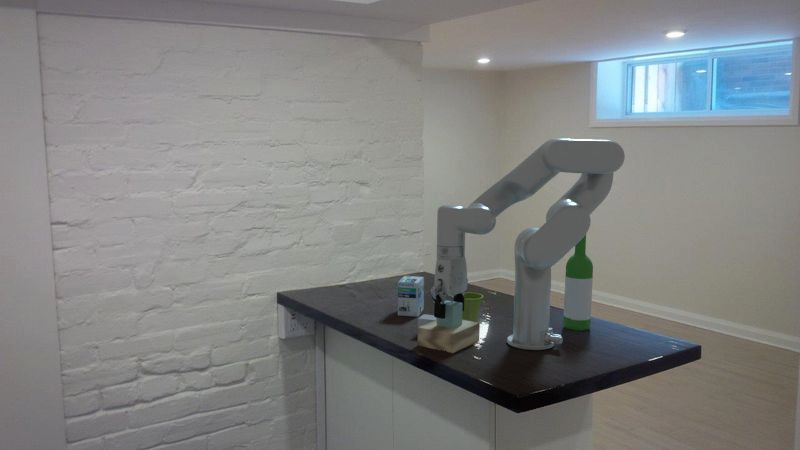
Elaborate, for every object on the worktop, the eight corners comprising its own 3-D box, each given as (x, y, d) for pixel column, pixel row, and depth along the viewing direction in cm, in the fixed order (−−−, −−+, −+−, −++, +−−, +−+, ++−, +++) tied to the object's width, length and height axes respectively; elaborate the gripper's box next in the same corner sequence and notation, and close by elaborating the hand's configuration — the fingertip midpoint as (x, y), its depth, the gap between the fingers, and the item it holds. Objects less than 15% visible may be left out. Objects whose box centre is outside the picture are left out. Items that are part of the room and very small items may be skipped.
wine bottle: (575, 323, 213) (580, 224, 209) (595, 329, 207) (600, 227, 203) (557, 326, 209) (561, 226, 205) (577, 333, 203) (582, 229, 199)
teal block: (462, 324, 192) (462, 302, 191) (452, 328, 187) (453, 306, 187) (446, 321, 194) (446, 300, 194) (436, 325, 190) (436, 303, 190)
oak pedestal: (479, 340, 194) (479, 322, 193) (452, 353, 183) (453, 334, 182) (445, 333, 200) (445, 316, 200) (417, 345, 189) (417, 327, 188)
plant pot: (447, 326, 208) (447, 297, 207) (455, 318, 217) (456, 290, 216) (478, 329, 205) (479, 300, 204) (485, 321, 214) (486, 293, 213)
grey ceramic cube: (440, 333, 201) (440, 316, 201) (434, 337, 197) (435, 320, 196) (423, 331, 203) (423, 314, 203) (417, 335, 199) (418, 318, 198)
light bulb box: (418, 317, 218) (418, 283, 217) (397, 315, 220) (397, 281, 218) (424, 309, 229) (424, 276, 227) (403, 307, 230) (404, 275, 229)
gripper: (445, 257, 179) (444, 323, 181) (479, 249, 193) (477, 310, 195) (420, 254, 183) (419, 318, 186) (455, 246, 197) (454, 306, 200)
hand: (449, 314), depth 191 cm, fingers open, 9 cm apart
